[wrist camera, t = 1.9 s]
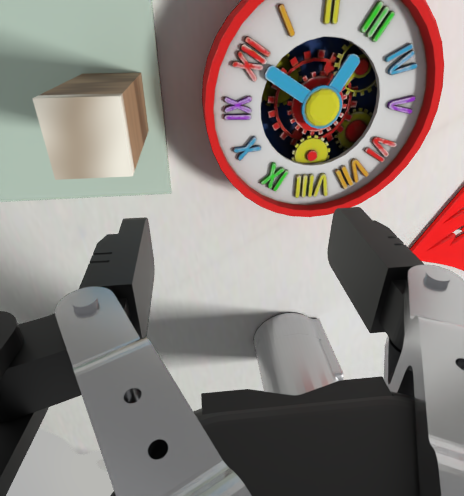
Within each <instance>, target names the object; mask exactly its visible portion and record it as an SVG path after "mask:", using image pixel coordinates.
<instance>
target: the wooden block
mask: <svg viewBox="0 0 464 496" xmlns="http://www.w3.org/2000/svg"><path fill="white" fill-rule="evenodd" d="M32 99H33V103H34V106H35V110H36V113H37V117H38V120H39V124H40V127H41V131H42V135H43V138H44V142H45V145H46V149H47V152H48V156H49V159H50V163H51V166H52V170H53V174H54V177H55V180H62V179H84V178H107V177H130V176H133V175H134V172H135V169H136V166H137V163H138V160H139V157H140V154H141V151H142V149H143V146H144V143H145V140H146V137H147V134H148V131H149V130H148V122H147V114H146V106H145V98H144V90H143V82H142V74H141V73H89V74H81V75H79V76H77V77H75V78H73V79H70V80H68V81H66V82H64V83H62V84H60V85H58V86H56V87H54V88H52V89H50V90H48V91H46V92H44V93H42V94H40V95H38V96H36V97H34V98H32Z"/></svg>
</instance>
